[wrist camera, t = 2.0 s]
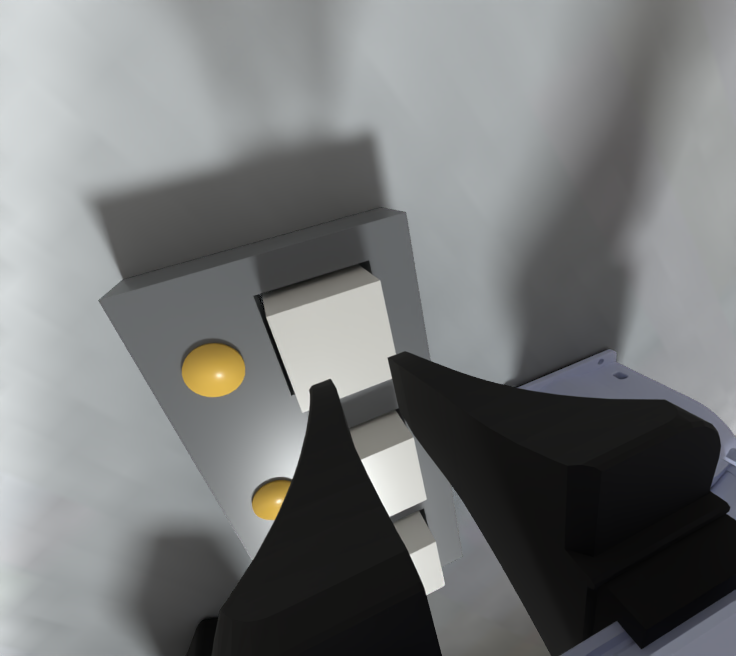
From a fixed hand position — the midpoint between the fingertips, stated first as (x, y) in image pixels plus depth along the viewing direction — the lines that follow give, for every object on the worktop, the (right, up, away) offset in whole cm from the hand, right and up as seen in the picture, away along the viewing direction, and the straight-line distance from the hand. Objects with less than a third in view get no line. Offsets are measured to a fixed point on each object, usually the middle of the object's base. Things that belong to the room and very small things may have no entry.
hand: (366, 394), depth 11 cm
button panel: (-2, -4, +11) cm, 12 cm away
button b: (0, -5, +9) cm, 10 cm away
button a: (-2, +2, +6) cm, 6 cm away
